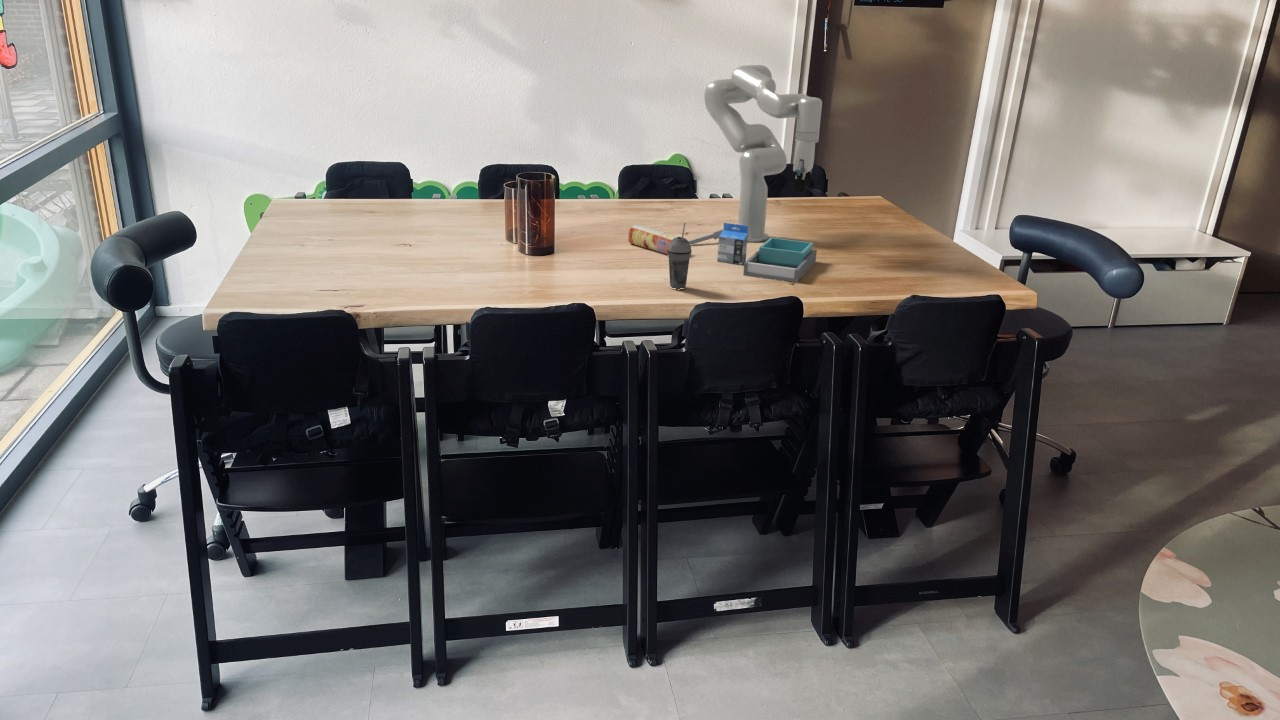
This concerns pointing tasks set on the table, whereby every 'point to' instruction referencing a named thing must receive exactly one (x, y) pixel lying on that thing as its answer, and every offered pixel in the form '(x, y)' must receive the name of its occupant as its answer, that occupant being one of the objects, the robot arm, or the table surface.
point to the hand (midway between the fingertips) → (802, 188)
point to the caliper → (707, 237)
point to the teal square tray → (784, 252)
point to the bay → (778, 268)
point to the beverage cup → (679, 261)
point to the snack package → (650, 238)
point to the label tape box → (733, 244)
